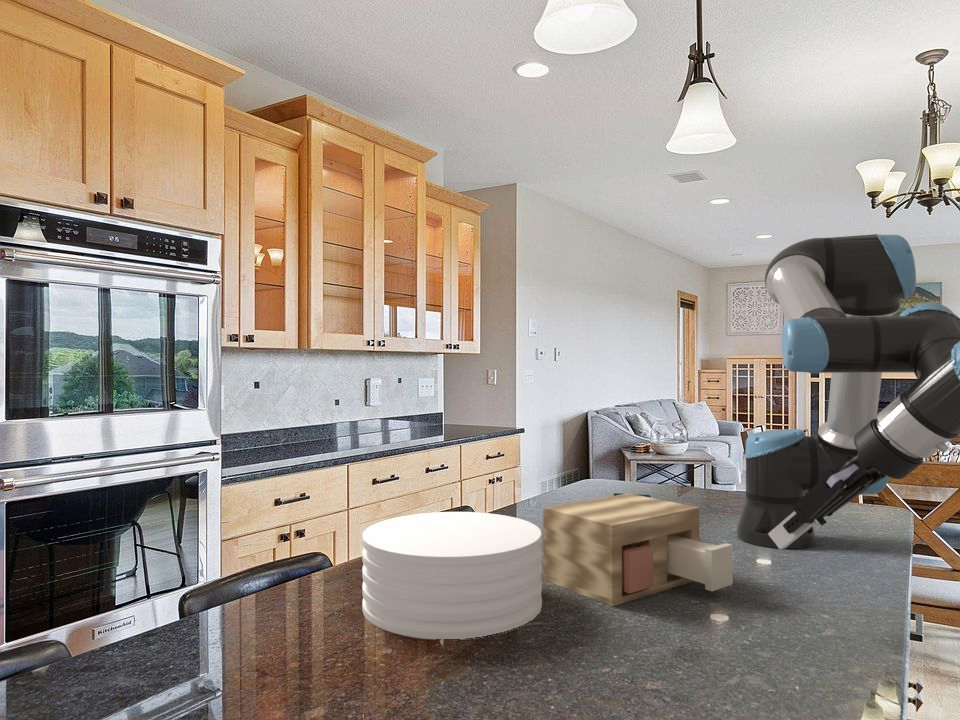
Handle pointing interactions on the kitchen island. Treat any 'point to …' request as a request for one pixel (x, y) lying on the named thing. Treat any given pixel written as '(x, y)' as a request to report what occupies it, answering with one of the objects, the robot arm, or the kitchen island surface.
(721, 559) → the cream plug
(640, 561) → the rust plug
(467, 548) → the plate stack
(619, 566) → the wooden box
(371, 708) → the kitchen island surface
